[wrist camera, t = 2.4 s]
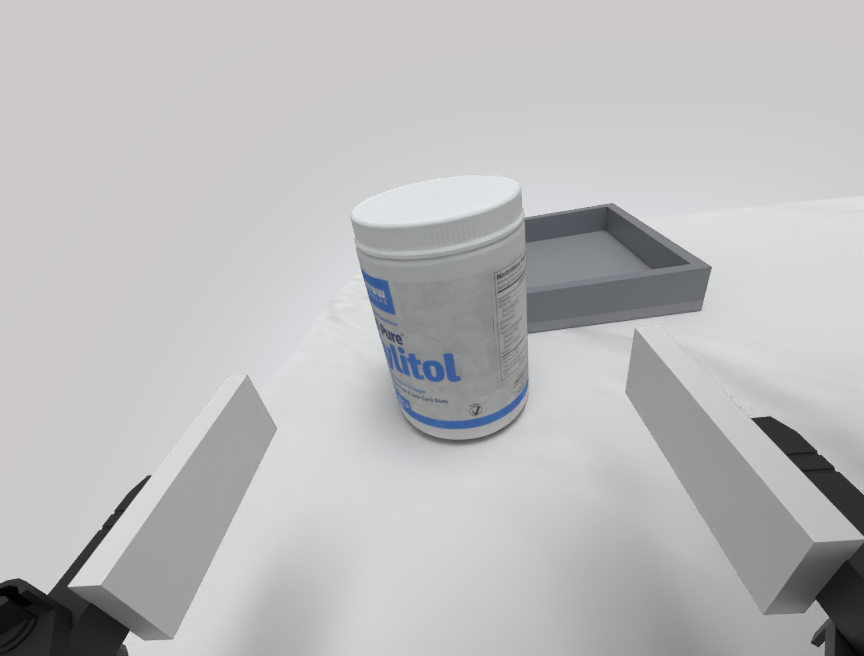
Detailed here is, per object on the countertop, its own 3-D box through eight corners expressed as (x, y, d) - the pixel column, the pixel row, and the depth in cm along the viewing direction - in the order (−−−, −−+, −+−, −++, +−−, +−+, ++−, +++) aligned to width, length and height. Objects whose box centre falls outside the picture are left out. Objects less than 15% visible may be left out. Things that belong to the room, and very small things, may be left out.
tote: (609, 234, 48) (612, 203, 46) (701, 310, 31) (711, 267, 29) (479, 254, 50) (476, 225, 48) (499, 336, 33) (495, 297, 31)
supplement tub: (378, 429, 26) (305, 228, 19) (432, 350, 33) (395, 180, 25) (513, 463, 22) (492, 220, 14) (543, 364, 29) (539, 165, 21)
